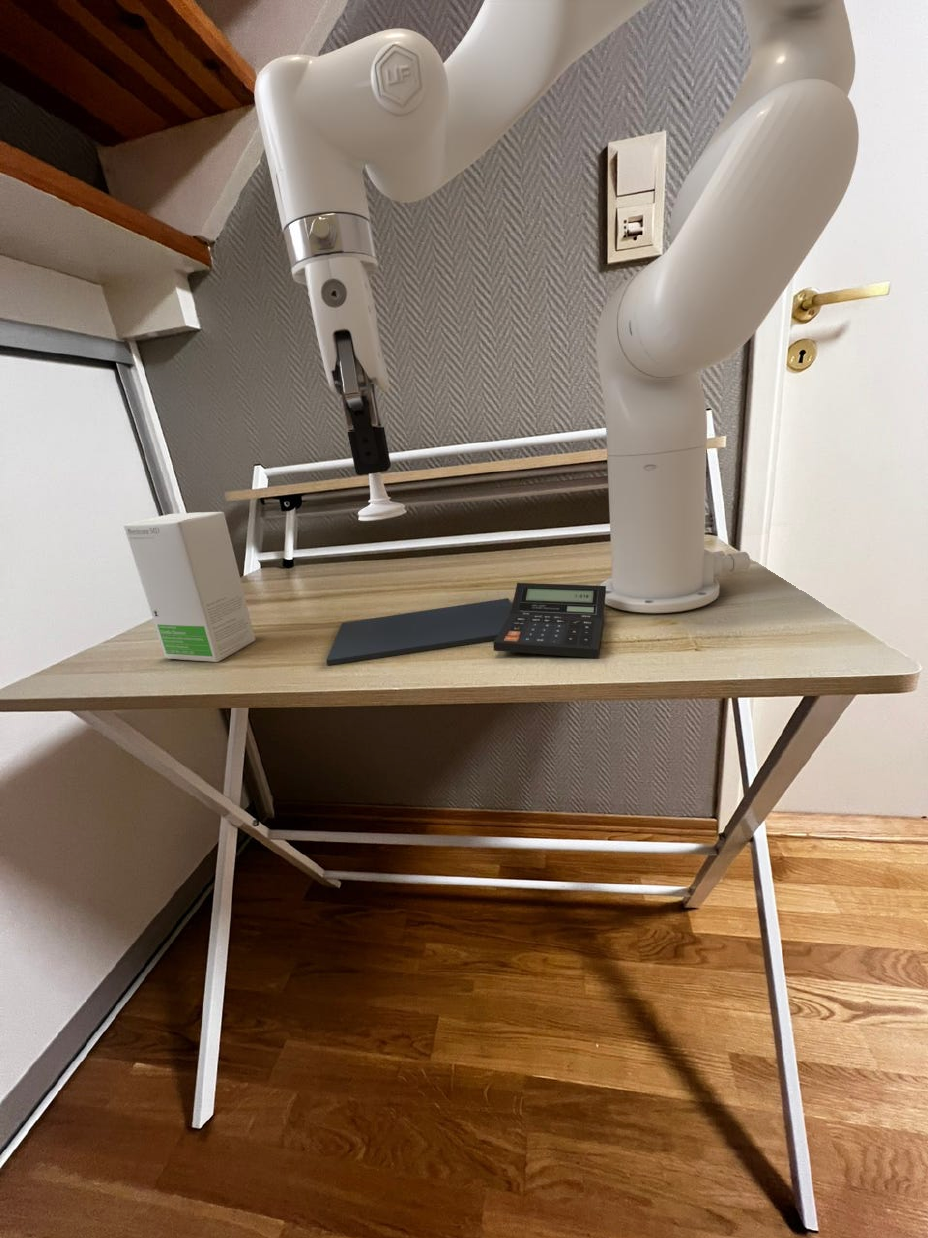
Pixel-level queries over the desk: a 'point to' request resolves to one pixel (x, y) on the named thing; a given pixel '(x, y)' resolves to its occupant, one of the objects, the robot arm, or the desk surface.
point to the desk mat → (419, 631)
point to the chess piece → (380, 502)
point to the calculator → (554, 620)
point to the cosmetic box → (192, 584)
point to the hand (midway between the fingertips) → (374, 470)
